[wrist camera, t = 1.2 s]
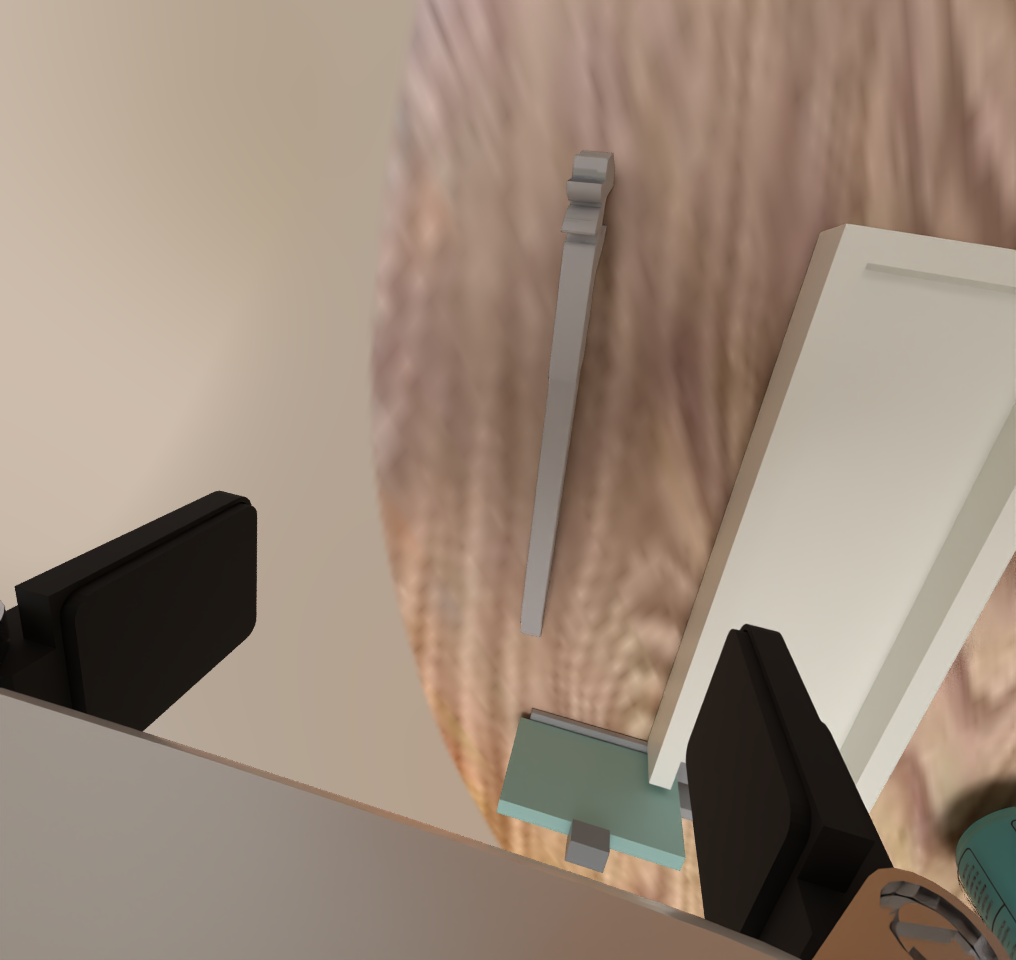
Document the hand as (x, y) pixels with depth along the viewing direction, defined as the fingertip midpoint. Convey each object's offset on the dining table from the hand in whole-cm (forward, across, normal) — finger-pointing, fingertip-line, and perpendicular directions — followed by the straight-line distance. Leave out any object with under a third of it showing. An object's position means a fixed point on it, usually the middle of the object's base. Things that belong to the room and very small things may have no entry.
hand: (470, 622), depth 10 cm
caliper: (+15, 0, 0) cm, 15 cm away
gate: (+14, -5, +15) cm, 21 cm away
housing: (+14, -9, +4) cm, 17 cm away
